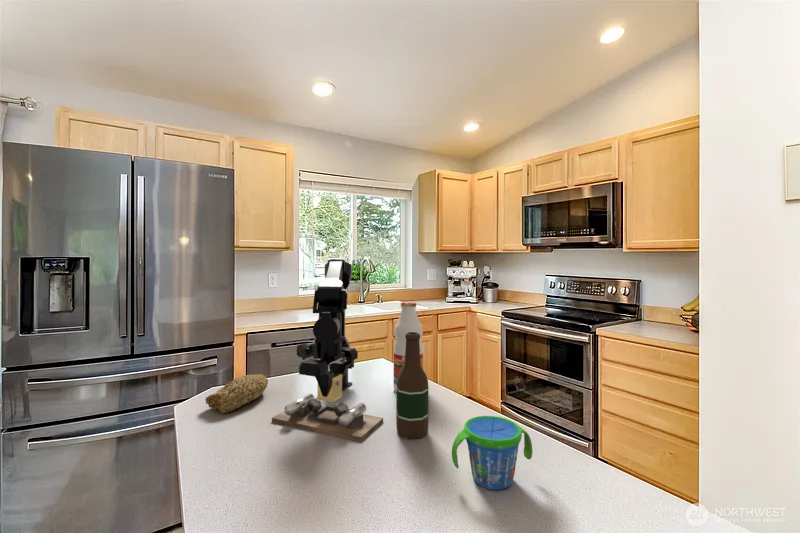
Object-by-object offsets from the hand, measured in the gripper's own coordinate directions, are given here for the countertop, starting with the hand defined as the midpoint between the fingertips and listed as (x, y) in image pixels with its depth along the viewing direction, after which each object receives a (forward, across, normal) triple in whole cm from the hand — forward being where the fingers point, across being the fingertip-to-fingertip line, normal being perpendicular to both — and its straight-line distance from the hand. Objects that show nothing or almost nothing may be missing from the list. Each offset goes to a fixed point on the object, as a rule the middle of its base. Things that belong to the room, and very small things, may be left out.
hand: (330, 393), depth 97 cm
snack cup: (+7, +10, +43) cm, 45 cm away
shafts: (+5, +2, 0) cm, 6 cm away
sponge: (+7, 0, -31) cm, 32 cm away
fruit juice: (+7, -29, +10) cm, 31 cm away
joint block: (+1, 0, 0) cm, 1 cm away
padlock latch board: (+7, +1, 0) cm, 7 cm away
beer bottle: (+7, -2, +22) cm, 23 cm away
